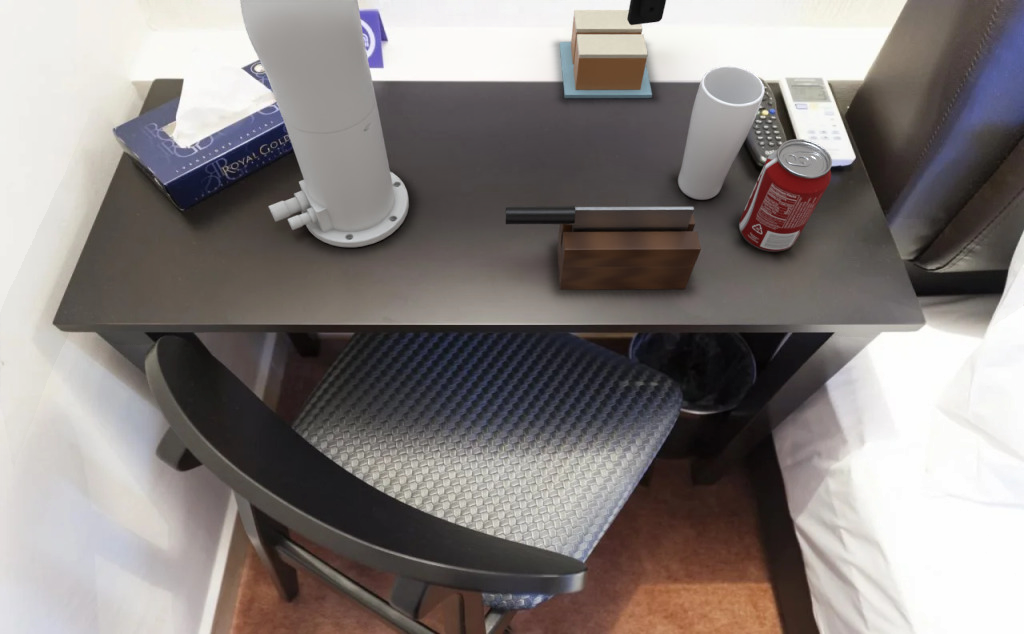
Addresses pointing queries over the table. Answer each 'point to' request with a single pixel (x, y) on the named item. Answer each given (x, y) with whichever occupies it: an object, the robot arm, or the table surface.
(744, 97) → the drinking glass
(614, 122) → the table surface
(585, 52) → the boxes on blue tray
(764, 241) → the soda can
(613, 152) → the table surface
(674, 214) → the knife
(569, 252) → the block
